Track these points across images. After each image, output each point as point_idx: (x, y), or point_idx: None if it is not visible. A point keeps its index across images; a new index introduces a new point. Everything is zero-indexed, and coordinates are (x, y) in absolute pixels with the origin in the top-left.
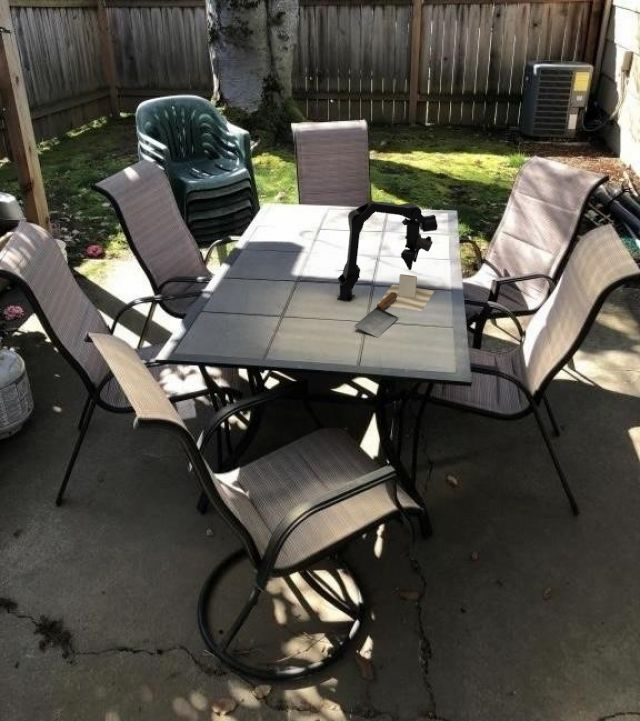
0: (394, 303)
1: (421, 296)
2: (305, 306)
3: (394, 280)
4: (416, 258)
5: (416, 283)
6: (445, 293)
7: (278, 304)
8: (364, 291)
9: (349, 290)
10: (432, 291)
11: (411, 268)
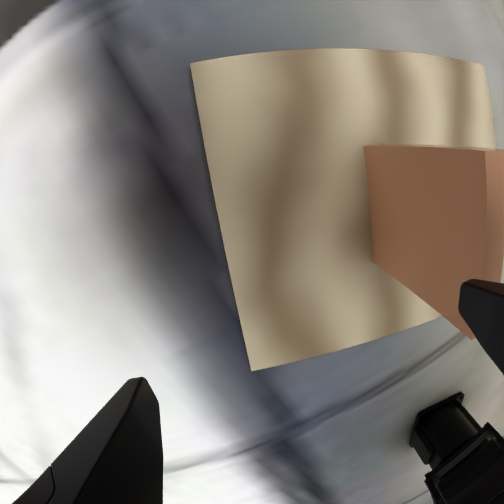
0: None
1: (337, 110)
2: None
3: (162, 389)
4: (124, 421)
5: (431, 146)
6: (162, 7)
7: None
8: (366, 418)
9: (472, 426)
10: (210, 70)
11: (482, 285)
